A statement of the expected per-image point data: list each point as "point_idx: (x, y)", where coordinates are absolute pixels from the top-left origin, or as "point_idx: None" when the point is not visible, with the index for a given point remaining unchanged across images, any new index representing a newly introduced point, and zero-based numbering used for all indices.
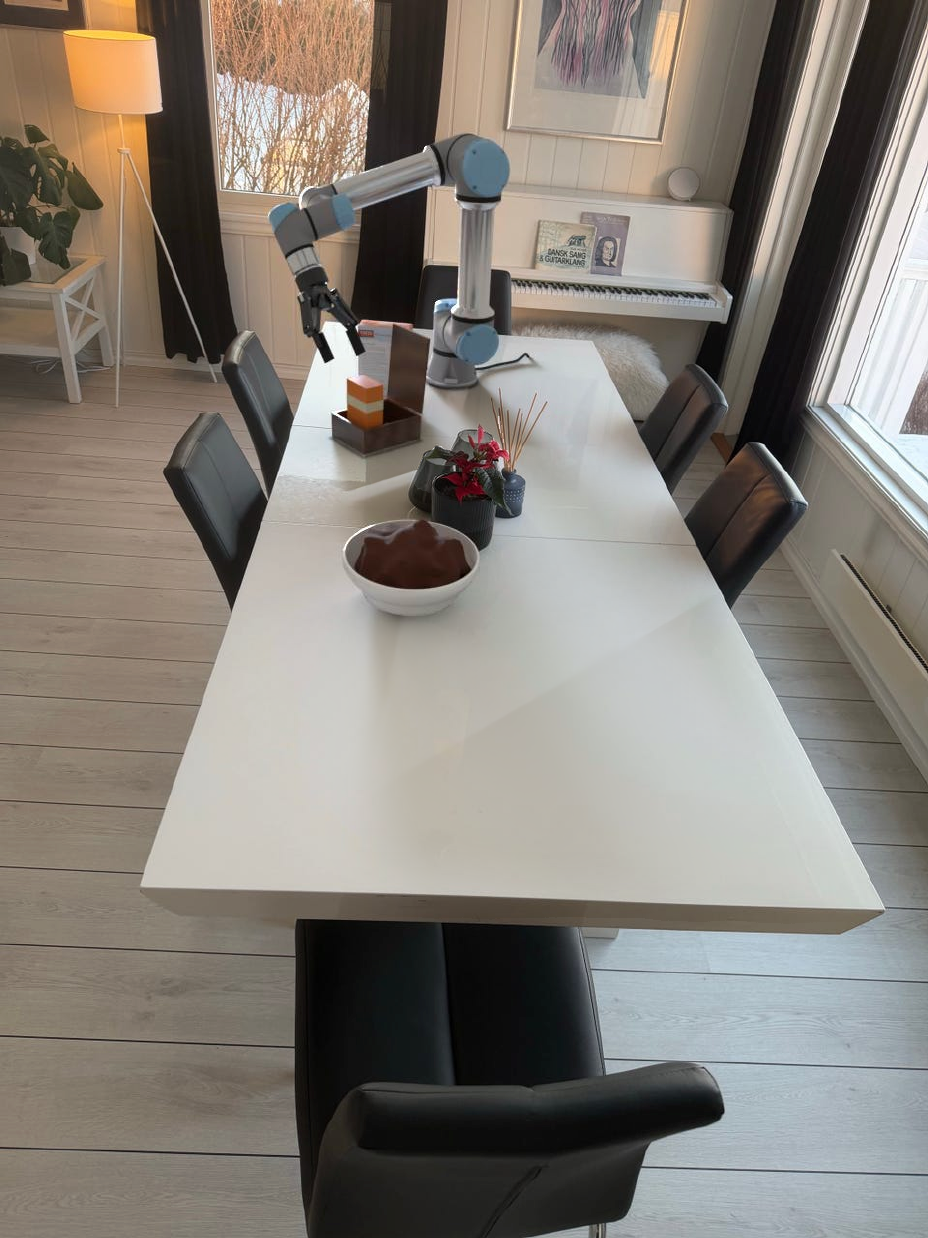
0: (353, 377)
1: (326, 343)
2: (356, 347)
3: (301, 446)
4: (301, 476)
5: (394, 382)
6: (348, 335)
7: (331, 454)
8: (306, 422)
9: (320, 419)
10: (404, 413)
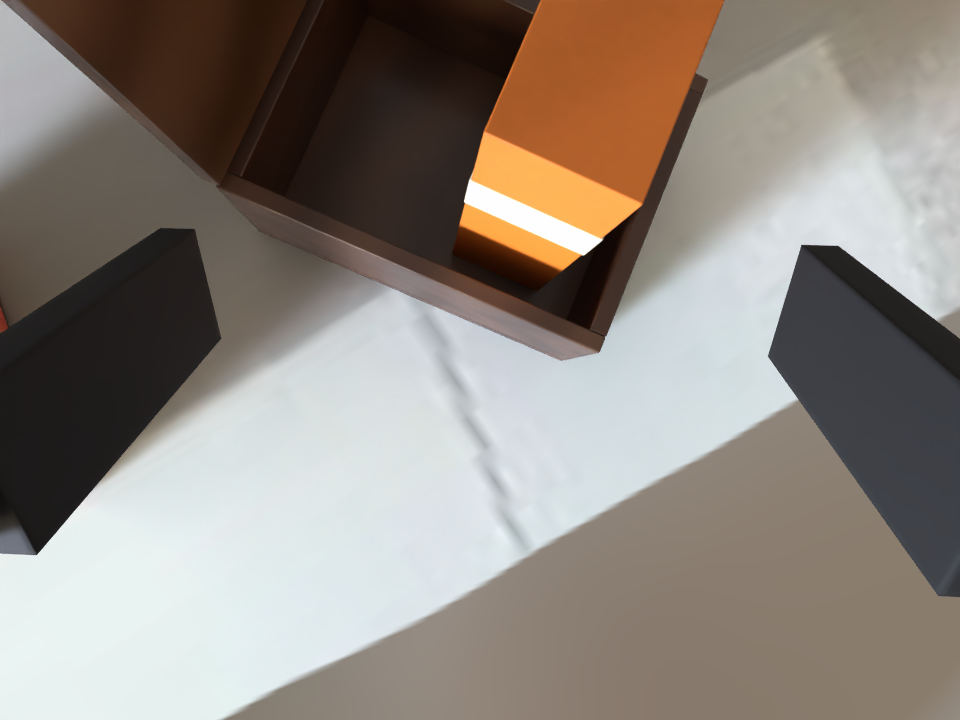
0: (594, 167)
1: (936, 331)
2: (173, 334)
3: (705, 424)
4: (919, 266)
5: (198, 65)
6: (85, 476)
7: (698, 273)
8: (476, 564)
9: (406, 530)
10: (315, 44)
